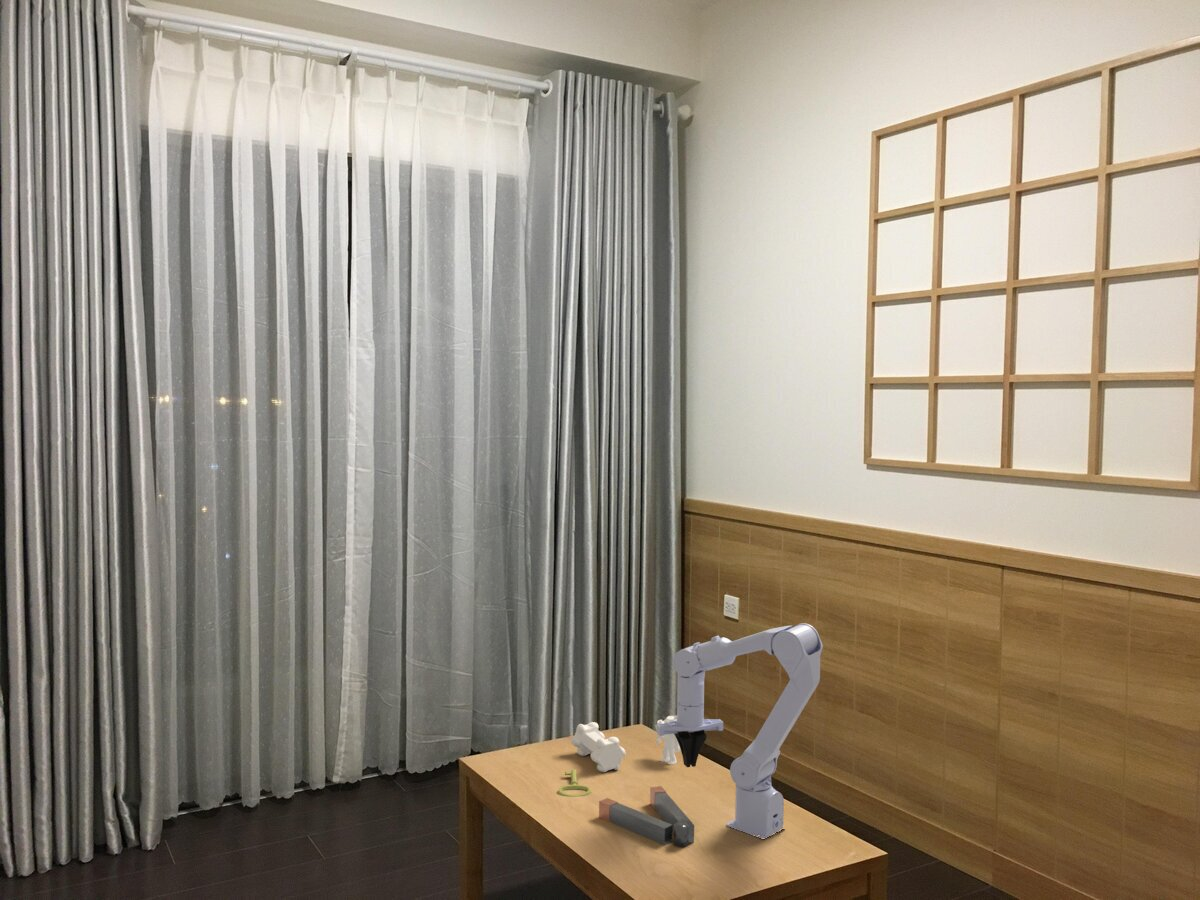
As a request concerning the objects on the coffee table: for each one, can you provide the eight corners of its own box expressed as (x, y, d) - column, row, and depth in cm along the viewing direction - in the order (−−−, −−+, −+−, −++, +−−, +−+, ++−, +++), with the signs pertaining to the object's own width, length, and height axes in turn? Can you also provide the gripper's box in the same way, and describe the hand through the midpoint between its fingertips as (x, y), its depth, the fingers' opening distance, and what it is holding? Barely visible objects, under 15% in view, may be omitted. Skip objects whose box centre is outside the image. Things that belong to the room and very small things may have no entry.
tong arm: (696, 845, 189) (697, 826, 189) (676, 847, 188) (677, 828, 188) (661, 802, 210) (661, 785, 210) (642, 804, 209) (643, 787, 209)
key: (575, 777, 226) (575, 768, 225) (594, 797, 214) (594, 787, 214) (545, 781, 223) (545, 772, 223) (563, 802, 212) (563, 792, 211)
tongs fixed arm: (672, 842, 191) (672, 824, 191) (664, 846, 189) (664, 828, 189) (607, 814, 204) (607, 797, 204) (599, 818, 202) (599, 801, 202)
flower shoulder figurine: (687, 765, 233) (687, 716, 232) (675, 768, 230) (675, 719, 230) (662, 754, 240) (663, 706, 239) (650, 757, 237) (651, 709, 237)
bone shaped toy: (570, 756, 240) (568, 724, 239) (602, 748, 243) (599, 717, 243) (595, 777, 226) (593, 744, 225) (628, 768, 230) (626, 735, 229)
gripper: (714, 695, 212) (714, 755, 213) (652, 699, 208) (651, 761, 209) (727, 704, 206) (726, 767, 206) (663, 709, 202) (662, 773, 202)
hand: (689, 765), depth 207 cm, fingers closed
